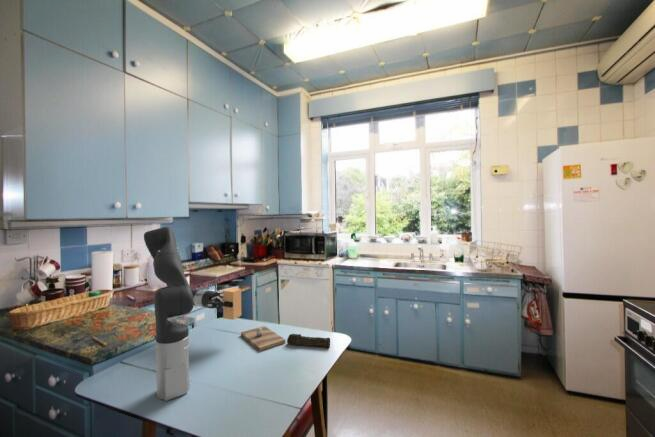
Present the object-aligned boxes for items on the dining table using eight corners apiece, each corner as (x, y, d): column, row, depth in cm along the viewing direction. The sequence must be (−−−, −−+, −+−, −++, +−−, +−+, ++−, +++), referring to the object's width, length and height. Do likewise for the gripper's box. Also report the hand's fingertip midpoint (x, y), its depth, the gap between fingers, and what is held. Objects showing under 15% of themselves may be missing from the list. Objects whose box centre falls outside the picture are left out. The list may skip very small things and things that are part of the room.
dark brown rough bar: (331, 345, 122) (330, 334, 122) (329, 349, 118) (329, 338, 118) (289, 341, 126) (289, 331, 126) (286, 345, 122) (286, 335, 122)
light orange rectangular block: (241, 315, 126) (241, 288, 126) (233, 319, 121) (233, 292, 121) (231, 314, 128) (231, 287, 128) (223, 318, 123) (223, 290, 123)
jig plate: (285, 342, 124) (285, 331, 124) (260, 351, 116) (259, 339, 116) (264, 328, 139) (264, 318, 139) (240, 335, 132) (240, 324, 132)
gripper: (194, 295, 123) (225, 299, 117) (217, 287, 136) (247, 290, 130) (194, 312, 123) (226, 317, 117) (218, 302, 136) (247, 306, 130)
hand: (237, 302), depth 123 cm, fingers closed on light orange rectangular block, 5 cm apart
